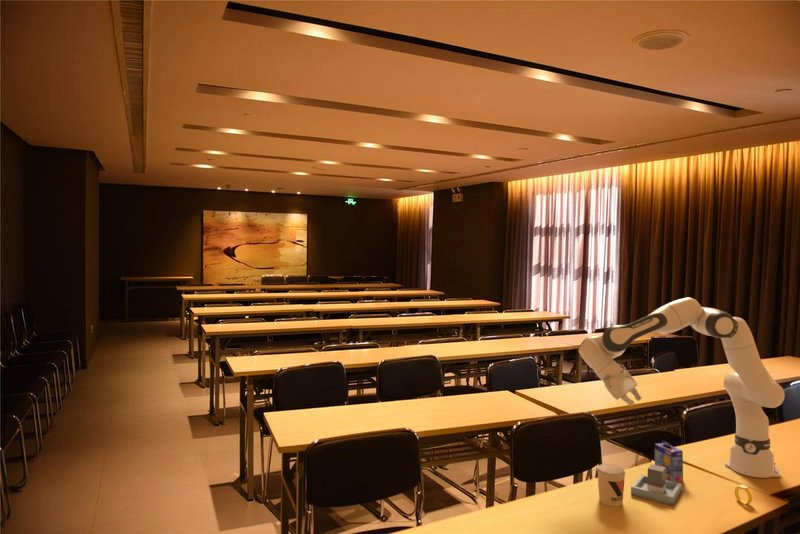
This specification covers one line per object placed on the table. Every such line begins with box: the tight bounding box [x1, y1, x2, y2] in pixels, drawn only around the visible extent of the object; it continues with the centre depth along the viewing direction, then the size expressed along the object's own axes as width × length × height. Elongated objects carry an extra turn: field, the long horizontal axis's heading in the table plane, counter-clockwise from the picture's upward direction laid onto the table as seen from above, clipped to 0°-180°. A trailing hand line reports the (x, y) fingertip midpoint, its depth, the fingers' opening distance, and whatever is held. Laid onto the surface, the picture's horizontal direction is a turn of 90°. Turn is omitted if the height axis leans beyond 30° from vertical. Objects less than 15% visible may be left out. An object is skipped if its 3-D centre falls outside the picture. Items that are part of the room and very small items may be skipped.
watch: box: [734, 484, 753, 505], centre depth 192 cm, size 6×3×6 cm, turn 15°
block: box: [647, 463, 666, 493], centre depth 200 cm, size 5×5×8 cm
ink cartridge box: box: [654, 439, 684, 483], centre depth 213 cm, size 10×6×14 cm, turn 15°
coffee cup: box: [596, 463, 626, 508], centre depth 193 cm, size 9×9×12 cm
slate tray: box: [630, 474, 683, 506], centre depth 200 cm, size 14×14×3 cm
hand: (636, 402), depth 208 cm, fingers open, 8 cm apart
